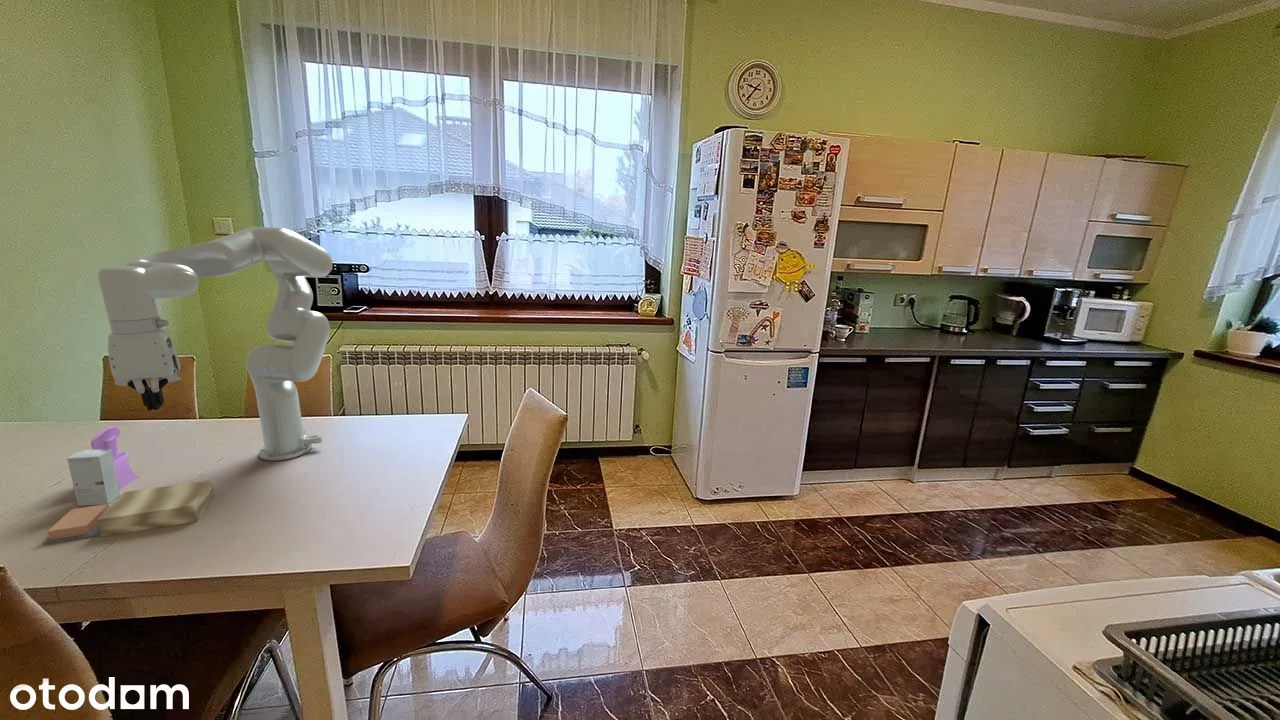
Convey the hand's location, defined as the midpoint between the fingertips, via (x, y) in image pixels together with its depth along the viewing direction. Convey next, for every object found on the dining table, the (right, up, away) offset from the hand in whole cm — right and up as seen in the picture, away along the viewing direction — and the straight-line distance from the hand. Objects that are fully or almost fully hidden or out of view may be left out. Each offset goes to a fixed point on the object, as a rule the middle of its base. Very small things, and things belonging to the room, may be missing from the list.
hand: (155, 408), depth 113 cm
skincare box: (-21, -23, +8) cm, 32 cm away
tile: (-14, -23, -2) cm, 27 cm away
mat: (-13, -25, -1) cm, 29 cm away
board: (-2, -24, +4) cm, 25 cm away
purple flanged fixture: (-26, -21, +15) cm, 37 cm away
